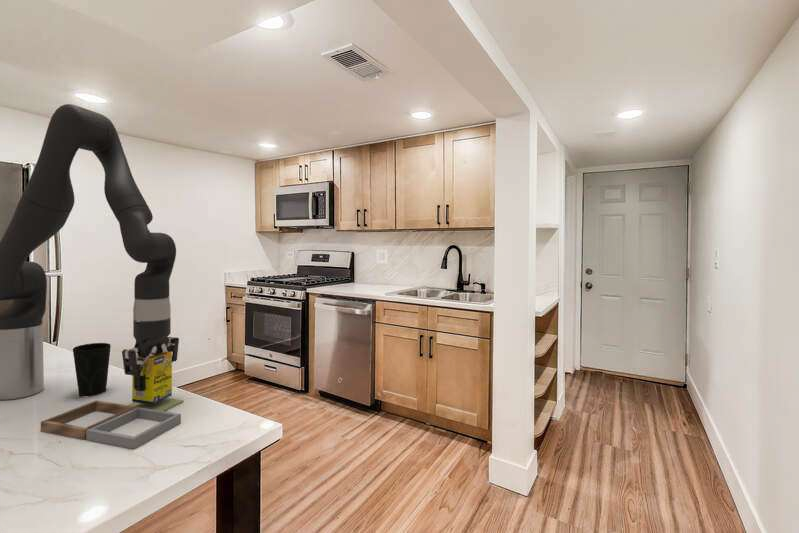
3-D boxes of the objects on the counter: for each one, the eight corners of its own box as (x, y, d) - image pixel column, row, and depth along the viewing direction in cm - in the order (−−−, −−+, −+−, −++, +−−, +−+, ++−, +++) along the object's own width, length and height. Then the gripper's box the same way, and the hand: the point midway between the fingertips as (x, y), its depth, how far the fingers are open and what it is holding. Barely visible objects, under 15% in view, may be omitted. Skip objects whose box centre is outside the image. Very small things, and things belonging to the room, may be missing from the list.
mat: (120, 409, 92) (120, 407, 92) (150, 397, 100) (150, 395, 100) (156, 415, 90) (156, 413, 90) (183, 402, 98) (183, 400, 98)
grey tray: (86, 440, 78) (86, 430, 78) (137, 415, 90) (137, 407, 90) (133, 449, 76) (133, 439, 76) (180, 422, 87) (180, 414, 87)
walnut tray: (40, 431, 81) (40, 421, 81) (96, 408, 92) (96, 400, 92) (84, 439, 78) (84, 430, 78) (136, 415, 90) (136, 406, 90)
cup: (66, 394, 100) (65, 348, 99) (99, 385, 107) (98, 341, 106) (85, 400, 97) (84, 352, 96) (117, 390, 104) (117, 345, 103)
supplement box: (153, 405, 91) (152, 359, 91) (131, 402, 93) (131, 356, 92) (172, 395, 97) (172, 352, 96) (152, 393, 98) (152, 349, 98)
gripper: (164, 310, 102) (164, 374, 103) (110, 321, 88) (111, 394, 89) (188, 312, 100) (188, 377, 101) (138, 323, 86) (138, 399, 87)
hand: (152, 385), depth 95 cm, fingers open, 6 cm apart
